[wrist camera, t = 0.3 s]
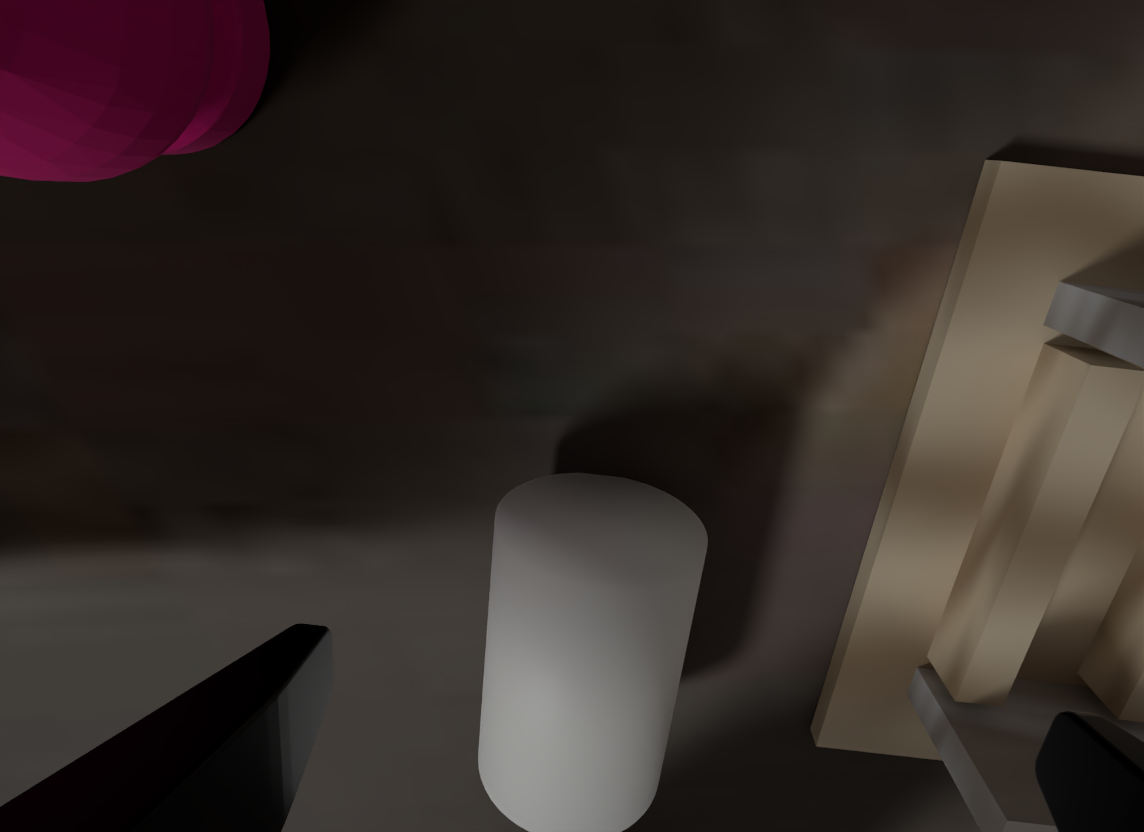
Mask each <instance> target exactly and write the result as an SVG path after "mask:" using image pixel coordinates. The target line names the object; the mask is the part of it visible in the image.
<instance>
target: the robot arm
mask: <svg viewBox="0 0 1144 832" xmlns="http://www.w3.org/2000/svg"><path fill="white" fill-rule="evenodd" d="M332 684H333V663H332V635H331V632H330V630H329V629H328V628H327V627H325V626H318V625H310V624H295V625H293V626H291V627H289V628H288V629H286V630H284V631H283V632H281V633H280V634H278V635H276V636H275V637H273V638H272V639H270V640H268V641H267V642H265V643H263V644H262V645H260V646H259V647H257V648H255V649H254V650H252V651H251V652H249V653H247V654H246V655H244V656H242V657H241V658H239V659H238V660H236V661H234V662H233V663H231V664H230V665H228V666H226V667H225V668H223V669H222V670H220V671H218V672H217V673H215V674H213V675H212V676H210V677H209V678H207V679H205V680H204V681H202V682H201V683H199V684H197V685H196V686H194V687H193V688H191V689H189V690H188V691H186V692H184V693H183V694H181V695H180V696H178V697H176V698H175V699H173V700H172V701H170V702H168V703H167V704H165V705H164V706H162V707H160V708H159V709H157V710H155V711H154V712H152V713H151V714H149V715H147V716H146V717H144V718H143V719H141V720H139V721H138V722H136V723H135V724H133V725H131V726H130V727H128V728H126V729H125V730H123V731H122V732H120V733H118V734H117V735H115V736H114V737H112V738H110V739H109V740H107V741H105V742H104V743H102V744H101V745H99V746H97V747H96V748H94V749H93V750H91V751H89V752H88V753H86V754H85V755H83V756H81V757H80V758H78V759H76V760H75V761H73V762H72V763H70V764H68V765H67V766H65V767H64V768H62V769H60V770H59V771H57V772H56V773H54V774H52V775H51V776H49V777H47V778H46V779H44V780H43V781H41V782H39V783H38V784H36V785H35V786H33V787H31V788H30V789H28V790H27V791H25V792H23V793H22V794H20V795H18V796H17V797H15V798H14V799H12V800H10V801H9V802H7V803H6V804H4V805H2V806H1V807H0V832H281V830H282V828H283V826H284V824H285V821H286V819H287V816H288V813H289V811H290V808H291V805H292V803H293V800H294V797H295V795H296V792H297V789H298V786H299V783H300V780H301V778H302V775H303V772H304V769H305V766H306V764H307V761H308V758H309V755H310V752H311V750H312V747H313V744H314V741H315V738H316V736H317V733H318V730H319V727H320V724H321V722H322V719H323V716H324V713H325V710H326V708H327V705H328V702H329V699H330V695H331V691H332ZM1035 774H1036V778H1037V782H1038V784H1039V787H1040V789H1041V792H1042V794H1043V796H1044V799H1045V801H1046V804H1047V806H1048V808H1049V811H1050V813H1051V816H1052V818H1053V820H1054V823H1055V825H1056V827H1057V830H1058V832H1144V742H1143V741H1142V740H1140V739H1138V738H1137V737H1135V736H1134V735H1132V734H1130V733H1129V732H1127V731H1126V730H1124V729H1122V728H1121V727H1119V726H1117V725H1116V724H1114V723H1113V722H1111V721H1109V720H1108V719H1106V718H1104V717H1103V716H1101V715H1098V714H1094V713H1088V712H1079V711H1070V710H1066V711H1061V712H1060V713H1059V714H1057V715H1056V716H1055V718H1054V719H1053V721H1052V724H1051V726H1050V728H1049V730H1048V733H1047V735H1046V737H1045V739H1044V741H1043V744H1042V746H1041V748H1040V750H1039V753H1038V755H1037V757H1036V761H1035Z"/></svg>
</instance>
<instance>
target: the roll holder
mask: <svg viewBox="0 0 1144 832" xmlns="http://www.w3.org/2000/svg"><path fill="white" fill-rule="evenodd" d="M1066 710H1070V711H1079V712H1088V713H1094V714H1098V715H1101V716H1103V717H1104V718H1106V719H1108V720H1109V721H1111V722H1113V723H1114V724H1116V725H1117V726H1119V727H1121V728H1122V729H1124V730H1126V731H1127V732H1129V733H1130V734H1132V735H1134V736H1135V737H1137V738H1138V739H1140V740H1142V741H1143V742H1144V177H1143V176H1134V175H1125V174H1116V173H1107V172H1098V171H1089V170H1080V169H1071V168H1062V167H1053V166H1044V165H1035V164H1026V163H1017V162H1008V161H996V160H985V163H984V166H983V169H982V172H981V176H980V179H979V182H978V185H977V189H976V192H975V195H974V198H973V202H972V205H971V208H970V211H969V215H968V218H967V221H966V224H965V228H964V231H963V234H962V237H961V241H960V244H959V247H958V250H957V254H956V257H955V260H954V263H953V267H952V270H951V273H950V276H949V279H948V283H947V286H946V289H945V292H944V296H943V299H942V302H941V305H940V309H939V312H938V315H937V318H936V322H935V325H934V328H933V331H932V335H931V338H930V341H929V344H928V348H927V351H926V354H925V357H924V361H923V364H922V367H921V370H920V374H919V377H918V380H917V383H916V387H915V390H914V393H913V396H912V400H911V403H910V406H909V409H908V413H907V416H906V419H905V422H904V426H903V429H902V432H901V435H900V439H899V442H898V445H897V448H896V451H895V455H894V458H893V461H892V464H891V468H890V471H889V474H888V477H887V481H886V484H885V487H884V490H883V494H882V497H881V500H880V503H879V507H878V510H877V513H876V516H875V520H874V523H873V526H872V529H871V533H870V536H869V539H868V542H867V546H866V549H865V552H864V555H863V559H862V562H861V565H860V568H859V572H858V575H857V578H856V581H855V585H854V588H853V591H852V594H851V598H850V601H849V604H848V607H847V611H846V614H845V617H844V620H843V624H842V627H841V630H840V633H839V636H838V640H837V643H836V646H835V649H834V653H833V656H832V659H831V662H830V666H829V669H828V672H827V675H826V679H825V682H824V685H823V688H822V692H821V695H820V698H819V701H818V705H817V708H816V711H815V714H814V718H813V721H812V724H811V727H810V730H811V733H812V736H813V739H814V742H815V745H816V746H817V747H826V748H835V749H843V750H852V751H861V752H870V753H879V754H888V755H897V756H906V757H915V758H924V759H933V760H942V761H943V762H944V764H945V766H946V768H947V769H948V771H949V773H950V775H951V777H952V779H953V780H954V782H955V784H956V786H957V788H958V790H959V791H960V793H961V795H962V797H963V799H964V801H965V802H966V804H967V806H968V808H969V810H970V812H971V813H972V815H973V817H974V819H975V821H976V823H977V825H978V826H979V828H980V830H981V832H1058V830H1057V827H1056V825H1055V823H1054V820H1053V818H1052V816H1051V813H1050V811H1049V808H1048V806H1047V804H1046V801H1045V799H1044V796H1043V794H1042V792H1041V789H1040V787H1039V784H1038V782H1037V778H1036V774H1035V761H1036V757H1037V755H1038V753H1039V750H1040V748H1041V746H1042V744H1043V741H1044V739H1045V737H1046V735H1047V733H1048V730H1049V728H1050V726H1051V724H1052V721H1053V719H1054V718H1055V716H1056V715H1057V714H1059V713H1060V712H1061V711H1066Z"/></svg>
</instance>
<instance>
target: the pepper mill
mask: <svg viewBox="0 0 1144 832" xmlns="http://www.w3.org/2000/svg"><path fill="white" fill-rule="evenodd" d="M269 58H270V35H269V26H268V21H267V16H266V10H265V5H264V1H263V0H0V175H1V176H8V177H15V178H21V179H28V180H43V181H79V182H89V181H94V180H100V179H106V178H112V177H115V176H118V175H121V174H123V173H126V172H129V171H132V170H135V169H137V168H140V167H142V166H144V165H145V164H147V163H149V162H150V161H152V160H154V159H155V158H157V157H159V156H160V155H169V154H185V153H191V152H197V151H200V150H203V149H206V148H209V147H213V146H215V145H216V144H218V143H220V142H221V141H223V140H224V139H226V138H227V137H229V136H230V135H232V134H234V133H235V132H236V130H237V129H238V128H239V127H240V126H241V125H242V124H243V123H244V122H245V121H246V120H247V119H248V118H249V116H250V114H251V113H252V111H253V110H254V108H255V106H256V104H257V103H258V101H259V99H260V96H261V93H262V90H263V87H264V84H265V81H266V77H267V74H268V66H269Z"/></svg>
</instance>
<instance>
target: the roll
mask: <svg viewBox="0 0 1144 832" xmlns="http://www.w3.org/2000/svg"><path fill="white" fill-rule="evenodd" d="M707 546H708V537H707V532H706V530H705V527H704V525H703V523H702V522H701V520H700V519H699V518H698V516H697V515H696V514H695V513H694V512H693V511H692V510H691V509H690V508H689V507H688V506H686V505H685V504H684V503H682V502H681V501H679V500H678V499H677V498H675V497H673V496H671V495H670V494H668V493H666V492H664V491H662V490H660V489H657V488H655V487H652V486H650V485H647V484H644V483H641V482H638V481H635V480H631V479H627V478H623V477H615V476H606V475H597V474H588V473H563V474H555V475H549V476H544V477H540V478H537V479H533V480H530V481H528V482H525V483H523V484H521V485H519V486H517V487H515V488H514V489H512V490H511V491H510V492H508V493H507V494H506V495H505V496H504V497H503V498H502V500H501V501H500V503H499V504H498V506H497V509H496V513H495V523H494V537H493V552H492V566H491V580H490V595H489V609H488V623H487V638H486V652H485V666H484V681H483V695H482V709H481V724H480V738H479V752H478V764H479V772H480V776H481V780H482V782H483V785H484V788H485V790H486V791H487V793H488V795H489V797H490V799H491V800H492V801H493V803H494V804H495V805H496V806H497V808H498V809H499V810H500V811H501V812H502V813H503V814H504V815H505V816H506V817H507V818H509V819H510V820H511V821H513V822H514V823H515V824H517V825H518V826H520V827H522V828H524V829H525V830H527V831H529V832H622V831H623V830H625V829H627V828H629V827H630V826H631V825H633V824H634V823H635V822H636V821H638V820H639V819H640V817H641V816H642V815H643V814H644V813H645V812H646V811H647V809H648V808H649V806H650V805H651V803H652V801H653V799H654V797H655V795H656V791H657V788H658V784H659V779H660V774H661V769H662V765H663V760H664V755H665V750H666V745H667V740H668V735H669V731H670V726H671V721H672V716H673V711H674V706H675V702H676V697H677V692H678V687H679V682H680V677H681V673H682V668H683V663H684V658H685V653H686V648H687V644H688V639H689V634H690V629H691V624H692V619H693V615H694V610H695V605H696V600H697V595H698V590H699V585H700V581H701V576H702V571H703V566H704V561H705V556H706V552H707Z"/></svg>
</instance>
